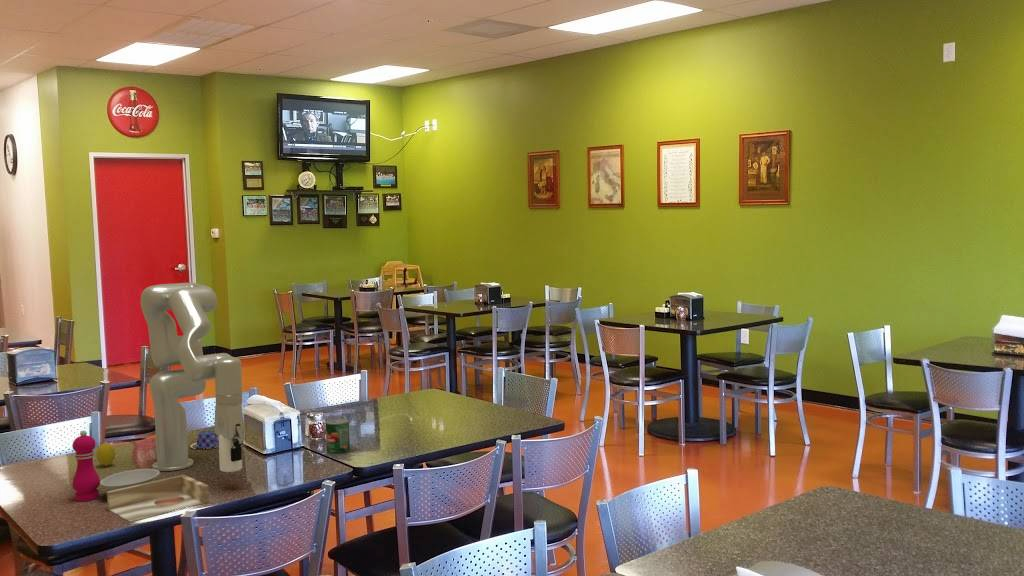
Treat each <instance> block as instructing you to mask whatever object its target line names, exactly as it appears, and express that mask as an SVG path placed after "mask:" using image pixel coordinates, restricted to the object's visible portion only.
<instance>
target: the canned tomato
mask: <svg viewBox="0 0 1024 576" xmlns="http://www.w3.org/2000/svg"><path fill="white" fill-rule="evenodd" d="M349 421H350V420H349V419H348V418H331V419H328V420H327V419H326V421H325V423H324V424H325V439H326V440H325V441H326V443H325V444H326V454H327V455H329V456H334V455H337V456H343V455H342V454H345V455H348V454H350V453H351V447H350V446H351V445H350V444H351V443H350V422H349ZM349 452H350V453H349ZM347 453H348V454H347Z"/></svg>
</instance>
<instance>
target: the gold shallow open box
mask: <svg viewBox="0 0 1024 576" xmlns="http://www.w3.org/2000/svg"><path fill="white" fill-rule="evenodd" d="M209 493H210V492H209V485H208V484H206V483H203V482H201V481H200V480H197V479H195V478H193V477H190V476H188V475H186V474H180V475H175V476H170V477H167V478H162V479H158V480H154V481H152V482H148V483H144V484H139V485H135V486H130V487H126V488H121V489H117V490H112V491H110V490H108V491H106V501H107V510H108V511H110V512H112V513H113V514H115V515H117V516H119V517H120V518H121V519H123V520H125V521H127V522H129V523H134V522H138V521H143V520H145V519H150V518H154V517H157V516H158V517H159V516H161V515H166V514H169V512H170V513H173V512H172V511H174V512H176V511H175V510H178V509H182V508H186V507H190V506H194V507H196V506H195V505H197V506H201V505H205V504H209V503H210V499H209V497H210V496H209ZM208 502H209V503H208ZM204 503H205V504H204ZM200 504H201V505H200ZM190 508H191V507H190ZM186 509H187V508H186ZM182 510H183V509H182ZM178 511H179V510H178ZM165 513H166V514H165Z"/></svg>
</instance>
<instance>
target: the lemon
mask: <svg viewBox="0 0 1024 576" xmlns="http://www.w3.org/2000/svg"><path fill="white" fill-rule="evenodd" d="M115 457H116V451H115V447H114V446H113V445H112V444H110V443H108V442H104V443H101V444H100V445H99V447H97V450H96V460H97V461H98V463H99V464H101V465H103V466H105V467H108V466H109V465H110V464H112V463H113V462H114V460H115V459H116V458H115Z"/></svg>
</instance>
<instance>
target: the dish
mask: <svg viewBox="0 0 1024 576" xmlns="http://www.w3.org/2000/svg"><path fill="white" fill-rule="evenodd" d="M160 473H161V471H159V470H156V469H153V468H138V469H131V470H125V471H120V472H117V473H113V474H111V475H108V476H106V477H104V478H102V479H100V485H99V486H103V487H105V488H106V490H108V491H112V490H117V489H121V488H126V487H130V486H135V485H139V484H144V483H148V482H152V481H155V480H156V478H157V477H158V476H159V475H160Z"/></svg>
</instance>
